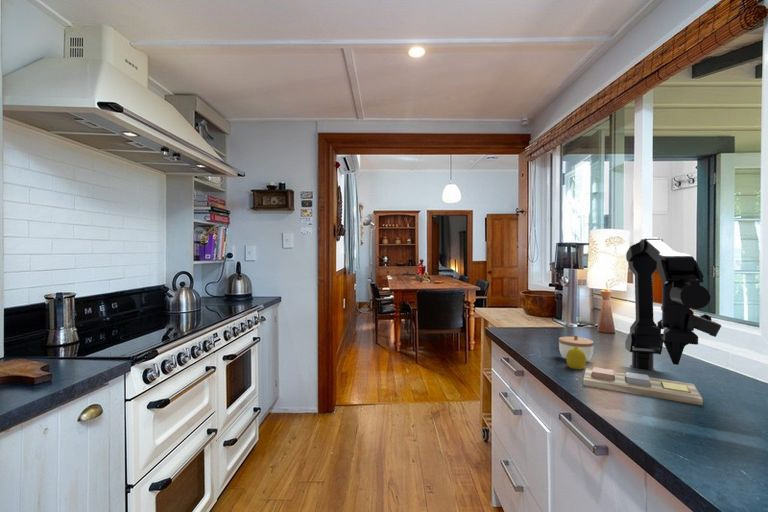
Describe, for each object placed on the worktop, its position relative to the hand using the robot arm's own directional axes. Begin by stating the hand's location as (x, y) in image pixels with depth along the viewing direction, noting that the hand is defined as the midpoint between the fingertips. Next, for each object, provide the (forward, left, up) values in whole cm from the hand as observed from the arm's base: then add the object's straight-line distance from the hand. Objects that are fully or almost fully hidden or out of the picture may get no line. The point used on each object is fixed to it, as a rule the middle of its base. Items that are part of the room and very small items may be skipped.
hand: (675, 364), depth 94 cm
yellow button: (0, 0, -9) cm, 9 cm away
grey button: (0, -8, -8) cm, 11 cm away
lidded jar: (-23, -25, -9) cm, 35 cm away
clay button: (0, -16, -8) cm, 18 cm away
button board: (0, -8, -9) cm, 12 cm away
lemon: (-11, -24, -9) cm, 27 cm away
